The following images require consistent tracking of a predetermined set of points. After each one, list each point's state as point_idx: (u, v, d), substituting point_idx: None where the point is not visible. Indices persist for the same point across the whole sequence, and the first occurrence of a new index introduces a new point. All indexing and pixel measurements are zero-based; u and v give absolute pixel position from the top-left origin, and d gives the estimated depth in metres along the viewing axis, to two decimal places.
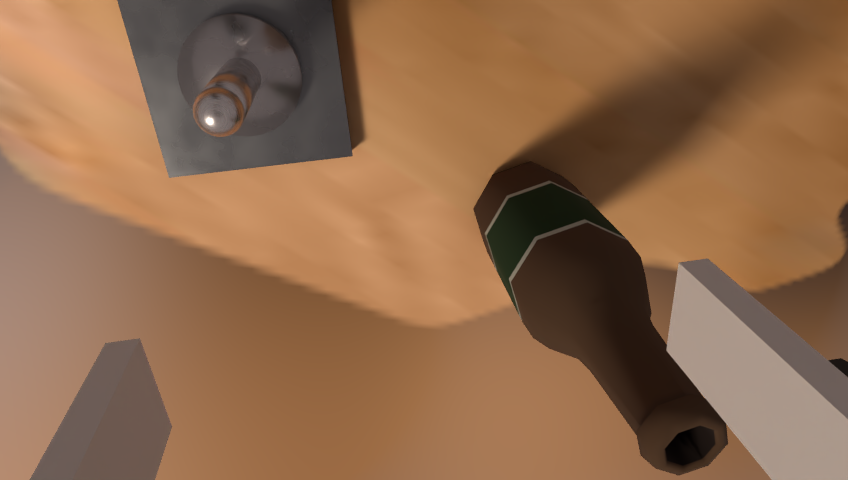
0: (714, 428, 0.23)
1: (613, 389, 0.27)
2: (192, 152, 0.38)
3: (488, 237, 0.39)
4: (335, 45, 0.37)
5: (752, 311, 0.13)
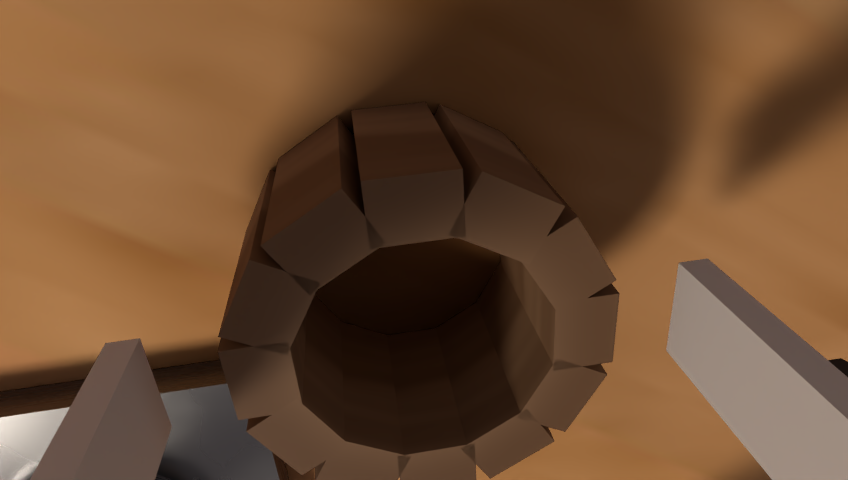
0: None
1: None
2: None
3: None
4: None
5: (752, 311, 0.13)
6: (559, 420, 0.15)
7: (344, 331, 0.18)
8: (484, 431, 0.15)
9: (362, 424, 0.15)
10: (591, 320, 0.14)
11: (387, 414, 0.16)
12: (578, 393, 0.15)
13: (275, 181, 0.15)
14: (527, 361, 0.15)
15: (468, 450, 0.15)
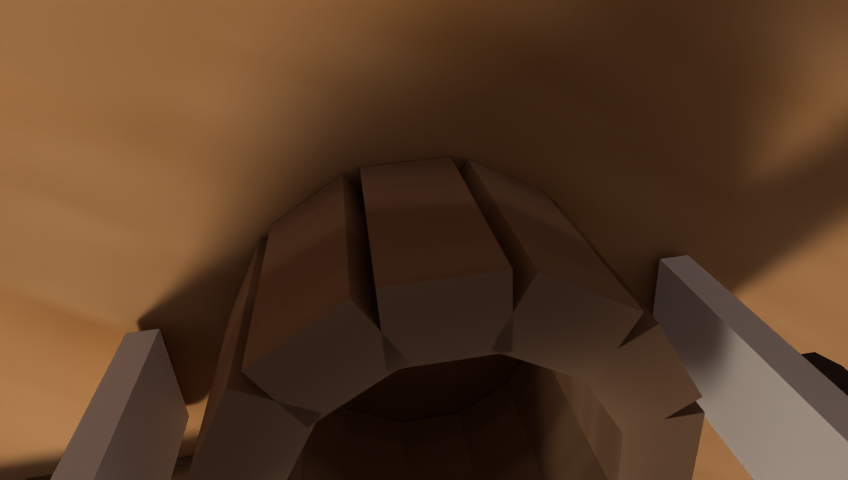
0: None
1: None
2: None
3: None
4: None
5: (729, 306, 0.13)
6: None
7: (350, 422, 0.15)
8: None
9: None
10: (667, 444, 0.11)
11: None
12: None
13: (265, 261, 0.12)
14: None
15: None
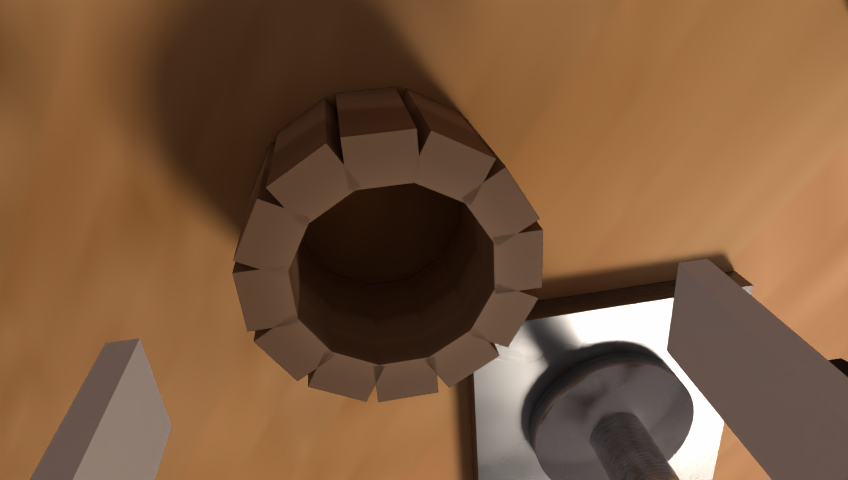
0: None
1: None
2: (688, 465, 0.29)
3: None
4: (588, 313, 0.24)
5: (752, 311, 0.13)
6: (480, 166, 0.16)
7: (445, 259, 0.23)
8: (484, 227, 0.17)
9: (473, 304, 0.19)
10: (368, 156, 0.16)
11: (479, 276, 0.20)
12: (451, 154, 0.16)
13: None
14: None
15: (500, 240, 0.17)
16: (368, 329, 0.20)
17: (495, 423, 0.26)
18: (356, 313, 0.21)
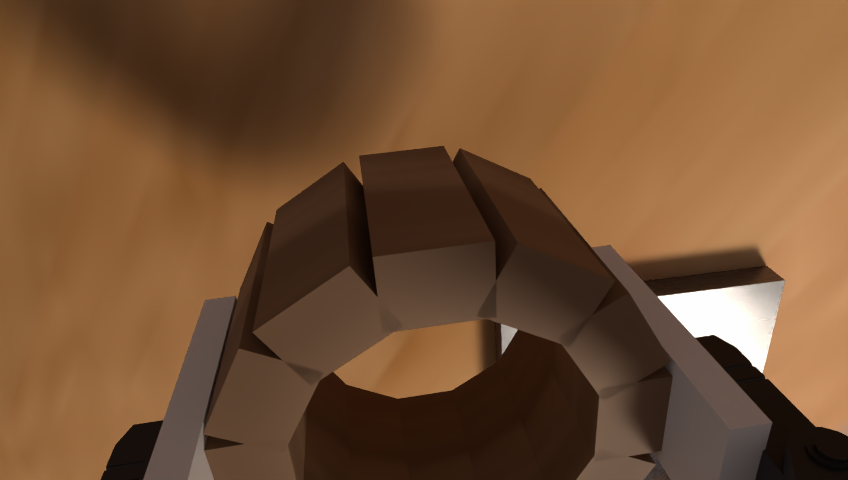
0: None
1: None
2: None
3: None
4: None
5: (637, 291, 0.14)
6: (590, 293, 0.10)
7: (503, 370, 0.17)
8: (586, 374, 0.11)
9: (555, 465, 0.13)
10: (416, 283, 0.10)
11: (563, 421, 0.14)
12: (547, 277, 0.10)
13: None
14: None
15: (610, 392, 0.12)
16: None
17: None
18: (385, 456, 0.15)
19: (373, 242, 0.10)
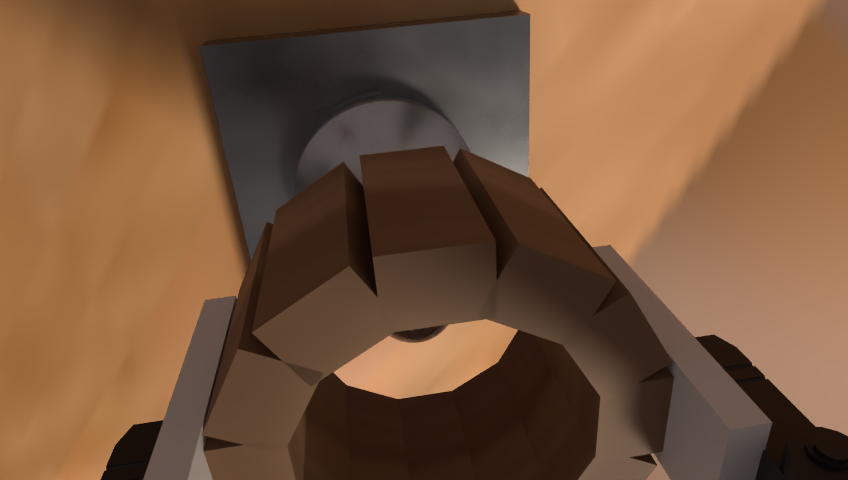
0: None
1: None
2: None
3: None
4: (336, 36, 0.21)
5: (637, 291, 0.14)
6: (591, 293, 0.10)
7: (503, 370, 0.17)
8: (587, 375, 0.11)
9: (556, 466, 0.13)
10: (416, 284, 0.10)
11: (564, 422, 0.14)
12: (547, 276, 0.10)
13: None
14: None
15: (611, 393, 0.11)
16: None
17: (254, 180, 0.23)
18: (385, 457, 0.15)
19: (373, 242, 0.10)
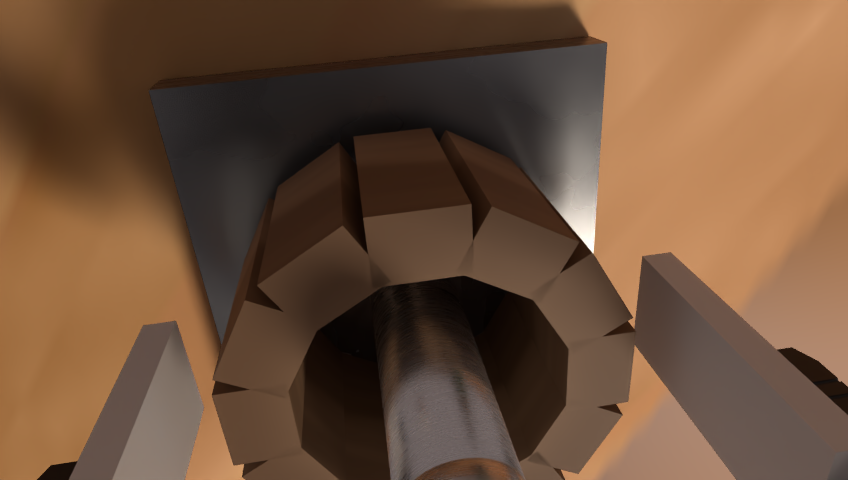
0: None
1: None
2: None
3: None
4: (341, 74, 0.15)
5: (708, 302, 0.13)
6: (557, 252, 0.12)
7: (488, 338, 0.18)
8: None
9: (532, 418, 0.15)
10: (402, 242, 0.11)
11: (540, 379, 0.15)
12: (517, 236, 0.11)
13: None
14: None
15: (578, 346, 0.13)
16: None
17: (230, 264, 0.17)
18: (377, 415, 0.16)
19: (364, 206, 0.11)
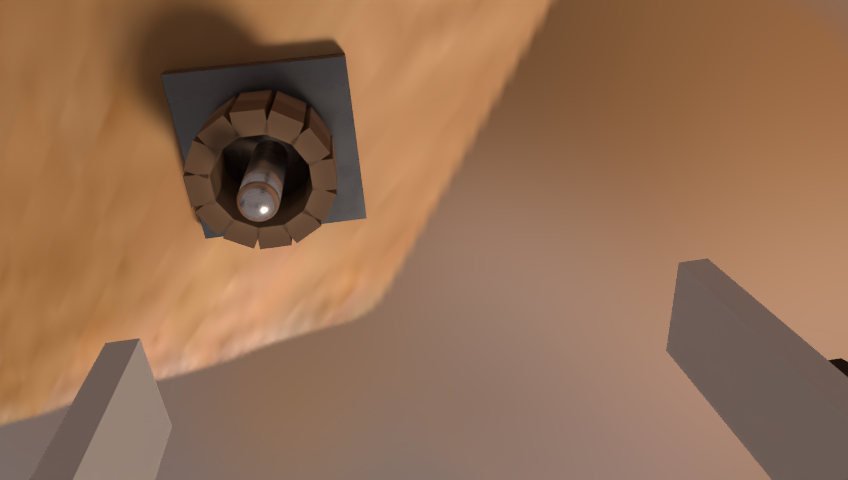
0: None
1: None
2: (343, 198, 0.44)
3: None
4: (236, 69, 0.39)
5: (752, 311, 0.13)
6: (296, 127, 0.35)
7: (306, 183, 0.42)
8: (303, 157, 0.36)
9: (307, 199, 0.38)
10: (242, 121, 0.35)
11: (311, 186, 0.39)
12: (281, 121, 0.35)
13: None
14: None
15: (312, 163, 0.37)
16: None
17: None
18: None
19: (231, 110, 0.35)
